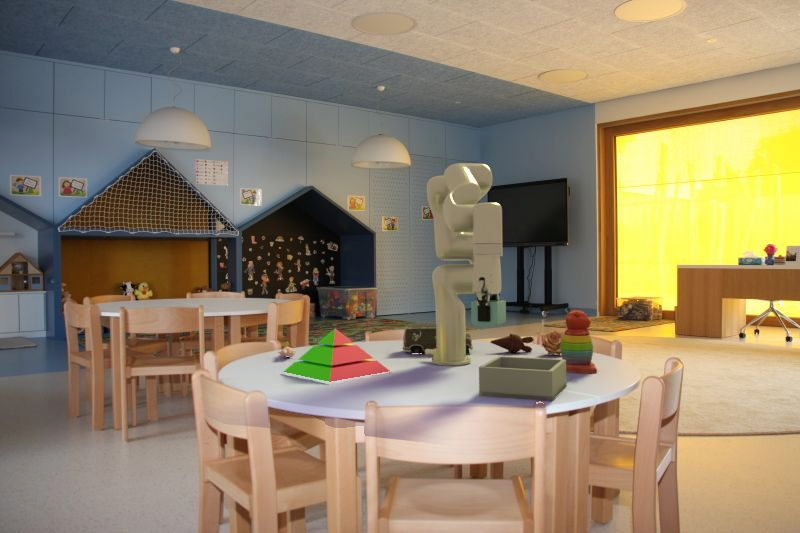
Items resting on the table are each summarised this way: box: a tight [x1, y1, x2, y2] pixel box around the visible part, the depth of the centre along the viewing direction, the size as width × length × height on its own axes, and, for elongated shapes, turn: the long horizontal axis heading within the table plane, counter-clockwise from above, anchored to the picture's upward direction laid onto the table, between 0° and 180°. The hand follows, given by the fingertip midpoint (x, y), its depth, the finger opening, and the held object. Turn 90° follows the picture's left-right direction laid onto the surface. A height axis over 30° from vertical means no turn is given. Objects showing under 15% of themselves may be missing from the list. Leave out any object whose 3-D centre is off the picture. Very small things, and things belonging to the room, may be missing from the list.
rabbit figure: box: [278, 341, 297, 358], centre depth 226 cm, size 6×6×15 cm
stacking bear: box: [560, 309, 598, 374], centre depth 192 cm, size 11×10×18 cm
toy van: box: [402, 323, 474, 355], centre depth 232 cm, size 11×25×10 cm, turn 86°
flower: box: [540, 329, 564, 356], centre depth 222 cm, size 10×9×8 cm
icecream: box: [490, 333, 535, 354], centre depth 228 cm, size 7×7×15 cm
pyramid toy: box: [282, 328, 390, 382], centre depth 193 cm, size 25×25×14 cm
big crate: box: [478, 355, 567, 402], centre depth 165 cm, size 18×18×7 cm
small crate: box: [470, 299, 507, 327], centre depth 167 cm, size 7×7×6 cm
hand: (488, 319), depth 167 cm, fingers closed on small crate, 7 cm apart
